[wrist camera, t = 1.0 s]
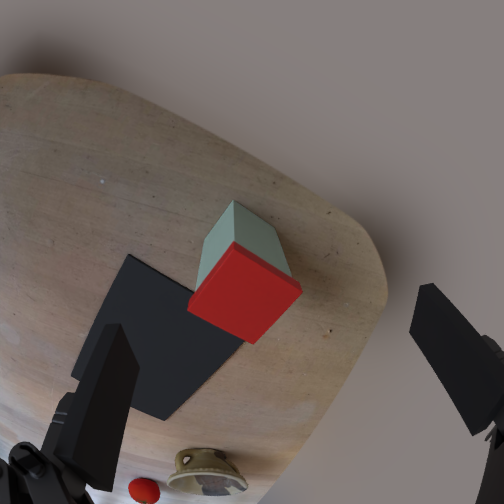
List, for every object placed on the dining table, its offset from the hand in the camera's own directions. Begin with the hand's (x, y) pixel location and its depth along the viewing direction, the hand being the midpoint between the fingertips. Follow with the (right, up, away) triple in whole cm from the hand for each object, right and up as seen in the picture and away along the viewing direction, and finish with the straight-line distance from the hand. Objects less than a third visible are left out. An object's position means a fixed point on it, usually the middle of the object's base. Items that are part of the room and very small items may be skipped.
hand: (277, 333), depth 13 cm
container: (-3, +6, +24) cm, 25 cm away
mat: (-17, -13, +32) cm, 39 cm away
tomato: (-32, -64, +55) cm, 90 cm away
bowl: (-11, -43, +47) cm, 65 cm away
